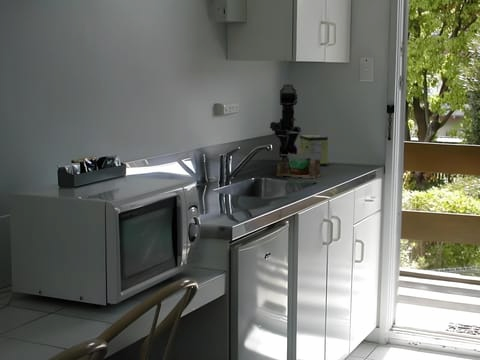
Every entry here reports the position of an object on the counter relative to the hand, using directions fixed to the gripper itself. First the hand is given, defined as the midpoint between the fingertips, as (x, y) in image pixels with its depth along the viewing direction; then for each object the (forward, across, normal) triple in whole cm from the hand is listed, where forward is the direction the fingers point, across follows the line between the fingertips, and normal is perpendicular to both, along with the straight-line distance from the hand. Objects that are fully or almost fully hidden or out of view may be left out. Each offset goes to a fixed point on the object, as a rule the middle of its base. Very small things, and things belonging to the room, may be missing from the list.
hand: (287, 148), depth 355 cm
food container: (+12, +5, +7) cm, 14 cm away
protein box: (+14, -39, -2) cm, 41 cm away
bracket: (+12, +3, +7) cm, 15 cm away
